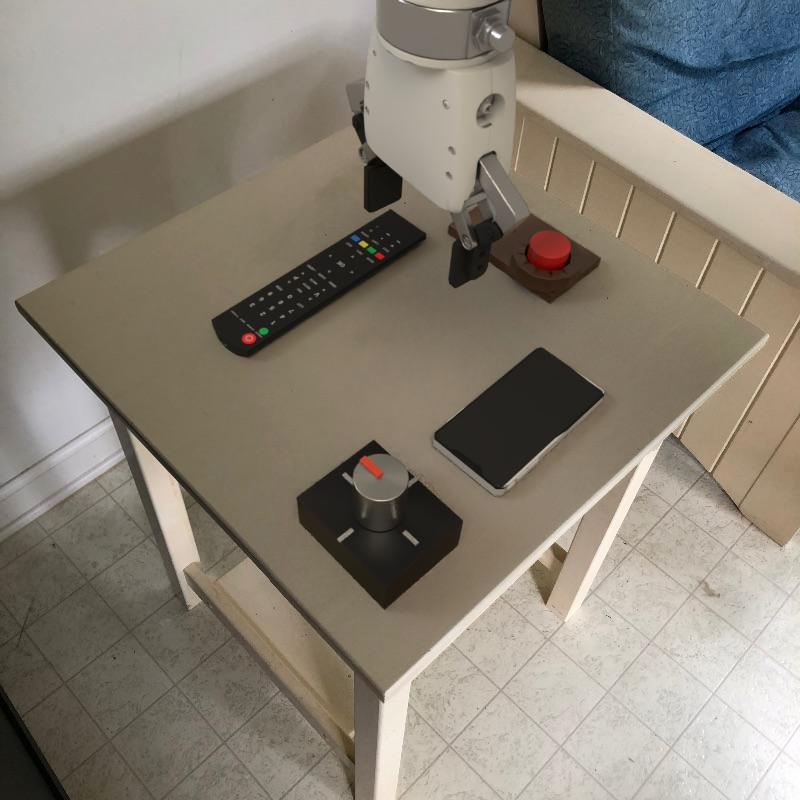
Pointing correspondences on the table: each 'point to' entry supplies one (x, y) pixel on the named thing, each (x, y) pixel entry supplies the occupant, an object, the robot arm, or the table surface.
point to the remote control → (315, 283)
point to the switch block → (515, 263)
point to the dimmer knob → (380, 492)
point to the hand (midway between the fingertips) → (423, 240)
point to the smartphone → (517, 420)
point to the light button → (548, 250)
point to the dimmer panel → (379, 551)
